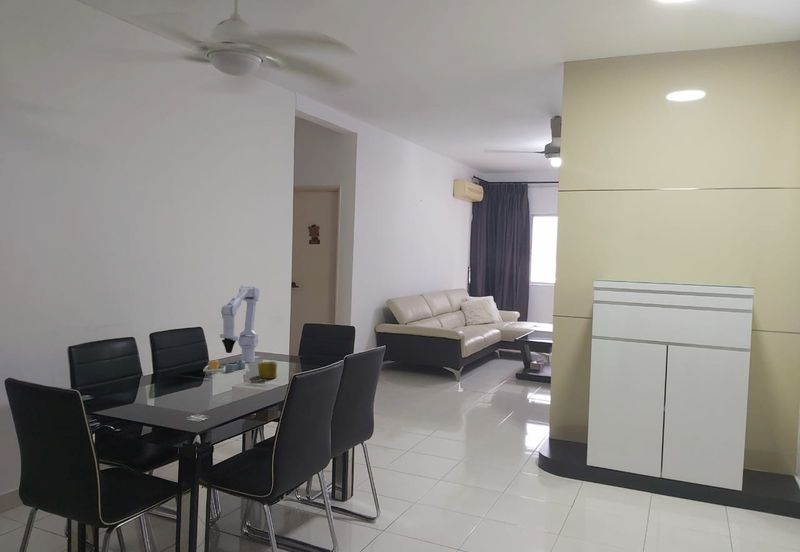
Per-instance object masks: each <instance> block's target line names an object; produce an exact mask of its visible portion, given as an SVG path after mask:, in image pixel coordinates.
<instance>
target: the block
mask: <svg viewBox="0 0 800 552" xmlns="http://www.w3.org/2000/svg"><path fill="white" fill-rule="evenodd" d="M219 363H220V362H219V360H218V359H216V360H215V359H213V360H212V359H211V360H210V361H209V366H210V368H209V369H219V366H220V364H219Z"/></svg>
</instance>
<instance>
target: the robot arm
mask: <svg viewBox="0 0 800 552" xmlns="http://www.w3.org/2000/svg"><path fill="white" fill-rule="evenodd" d="M259 297H260V290H259V287H258V286H256V285H255V286H249V285H248V286H246V285H245V286H244V285H240V287H239V289H238V294H236V296H234V297H232V298H231V299H230V301H228V303H227V304H224V305H223V306H222V307H221V310H220V311H221V313H220V314H221V316H222V317H221V318H222V320H223V329H222V330H223V333H221V334H219V338H220V339H221V342H222V343H223V346H224V349H225V353H226V354H232V352H233V349H234V345H235V344H236V343H237V342H238V343H237V344H238V345H239V347H240V349H241V360H242V361H245V364H246V363H254V362H255V360H256V359H255V356H256V354H255V352H256V350H255V349H256V347H257V346H258V344H259V338H258V336H259V335H258V334H257V332H256V331H254V327H255V316H256V305H257V302H259ZM242 301H245V302H246V311H245V321H244V328H243V329H244V330H243V331H241V332H240V334H239V336H236V335H235V316H236V315H237V312H238V309H239V308H240V306H241V305H242ZM236 341H237V342H236Z"/></svg>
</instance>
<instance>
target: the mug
mask: <svg viewBox="0 0 800 552" xmlns="http://www.w3.org/2000/svg"><path fill="white" fill-rule="evenodd" d="M257 368H258V369H257V371H258V376H259V378H261V380H264V379H265V380H266V379H267V380H268V379H276V378H277V370H278V362H277V361H263V362H262V361H261V362H258V363H257Z"/></svg>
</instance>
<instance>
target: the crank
mask: <svg viewBox="0 0 800 552" xmlns="http://www.w3.org/2000/svg"><path fill="white" fill-rule="evenodd" d="M245 369H246V363H245V361H242V359H238V360H237V361H235V363H225V371H224V372H227V373H234V372H235V371H238V370H245Z"/></svg>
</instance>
